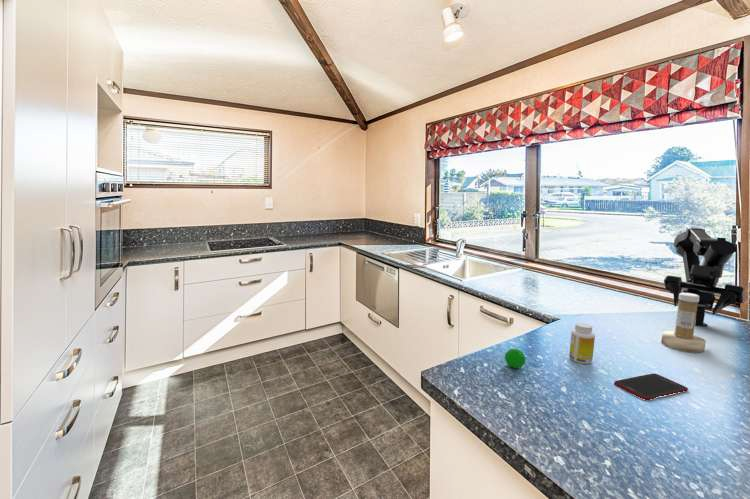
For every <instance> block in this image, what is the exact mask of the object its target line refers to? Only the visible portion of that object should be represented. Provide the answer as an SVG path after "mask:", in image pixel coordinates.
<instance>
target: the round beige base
mask: <svg viewBox="0 0 750 499" xmlns="http://www.w3.org/2000/svg"><path fill="white" fill-rule="evenodd" d="M674 333H675V330H664V331H662V333H661V341H660V342H661V344H662V345H663V346H666V347H667V348H670V349H673V350H675V351H678V352H679V351H680V352H683V353H690V354H704V353H705V350H706V343H707V340H705V339H704V338H702V337H701V336H698V335H695V334H693V337H694V338H693V339H685V338H680V337H677V336H676V335H674Z"/></svg>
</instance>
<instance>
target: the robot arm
mask: <svg viewBox="0 0 750 499" xmlns="http://www.w3.org/2000/svg"><path fill="white" fill-rule="evenodd" d="M673 247H674V248H675V250H676V251H675V252H676V254H678V255H679V256H681V258H682V261H683V266H684V274H685V281H683V279H682V277H681V276H675V275H670V274H669V275H666V276H665V277H664V278H663V284H664V287H665V290H667V291H669V293H671V294H673V305H674V307H678V305H679V294H680V293H692V294H696V295H699V302H698V305H697V313H696V323H695V326H702V327H708V323H705V322H704V321H705V315H706V314H705V313H706V310H709V311H710V310H712V309H713V310H712V315H716V314H718V313H719V312H721V310H723V309H724V308H727V307H728V306H730V305H737V304H744V301H745V298H746V296H745V295H746V294H745V288H744V286H741V285H737V284H728V283H726V284H725V285H724V287H719V286H718V287H717V285H718V283H719V282H720V281H719V280H720V279H721V278H722V276H723V271H724V267H725V264H727V263H728V262H729V261H730V259H731V258H732V256H733V255H734V254H735V252H736V250H737V247H736V245H735V244H733V243H732V242H730V241H728V240H727V239H726V237H716V238H712V237H711V236H710V235H709V234H708V233H707V232H706V230H705V229H704V228H701V227H700V228H699V227H698V228H697V227H689V228H686V230H685V231H683V232H681V233H679V234H677V235H676V236H675V238H674V241H673ZM700 257H701V260H700ZM715 295H719V298H718V300H717V298H716V296H715ZM716 300H717V302H716V304H715V305H714V303H715V301H716Z"/></svg>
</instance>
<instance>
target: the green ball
mask: <svg viewBox="0 0 750 499" xmlns="http://www.w3.org/2000/svg"><path fill="white" fill-rule="evenodd" d="M504 360H505V362H506V364H507V366H510V367H511V368H512V367H513V368H512V369H519V368H522V367H523V366H524V365H525V364H526V357H525V354H524V353H523V351H522V350H519V349H517V348H511V349H508V350H507V351H506V352H505V354H504Z"/></svg>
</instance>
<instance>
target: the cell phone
mask: <svg viewBox="0 0 750 499" xmlns="http://www.w3.org/2000/svg"><path fill="white" fill-rule="evenodd" d="M613 384H614V386H615V387H618V388H620V389H621V390H623V391H625V392H626V393H629V394H631V395H633V394H634V395H636V396H638V397H640V398H642V399H645V400H644V401H646V400H648V401H651V400H650V399H653V400H654V398H656V397H659V396H664V395H669V394H673V393H678V392H683V391H687V390H689V388H688V387H686V386H685V385H683V384H680V383H678V382H677V381H674V380H672V379H669V378H667V377H665V376H662V375H661V374H657V373H650V374H644V375H643V374H642V375H638V376H634V377H628V378H624V379H623V378H622V379H619V380H615V381H614V382H613ZM687 392H688V391H687ZM683 393H684V392H683ZM634 395H633V396H634ZM636 396H635V397H636ZM638 397H637V398H638ZM640 398H639V399H640ZM642 399H641V400H642ZM656 399H657V398H656Z"/></svg>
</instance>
